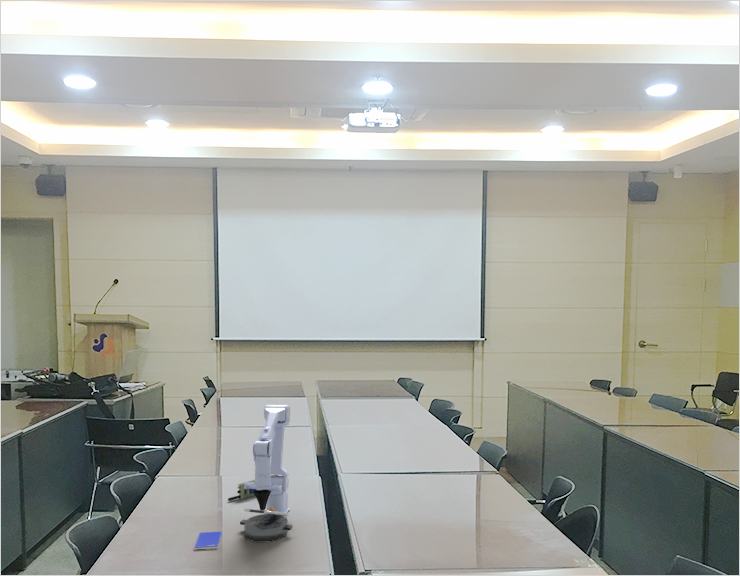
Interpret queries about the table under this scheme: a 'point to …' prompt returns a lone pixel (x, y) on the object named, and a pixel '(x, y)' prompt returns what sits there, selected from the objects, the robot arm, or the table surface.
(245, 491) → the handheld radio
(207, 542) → the hard drive
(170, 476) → the table surface
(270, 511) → the lid
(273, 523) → the cooker pot
